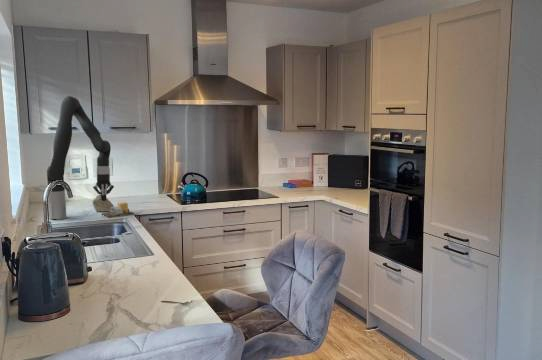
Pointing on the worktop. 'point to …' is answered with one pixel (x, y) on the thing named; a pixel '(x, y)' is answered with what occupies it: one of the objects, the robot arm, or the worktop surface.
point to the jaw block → (123, 206)
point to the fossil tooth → (102, 204)
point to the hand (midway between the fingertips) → (103, 200)
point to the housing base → (116, 214)
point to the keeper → (116, 210)
